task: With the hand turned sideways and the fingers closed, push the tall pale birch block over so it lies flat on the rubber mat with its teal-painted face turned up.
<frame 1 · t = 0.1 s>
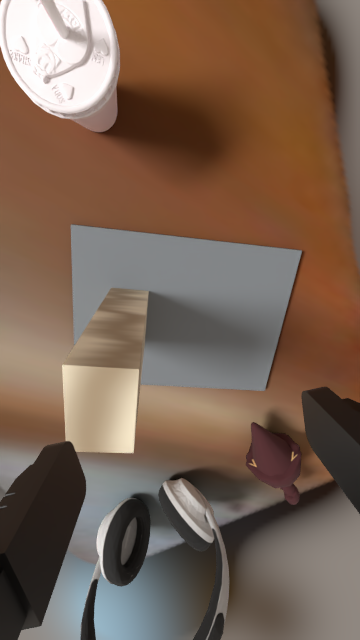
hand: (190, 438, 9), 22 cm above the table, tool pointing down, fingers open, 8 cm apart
headphones: (154, 494, 42), on the table
mat: (181, 317, 32), on the table
smoothie: (96, 108, 24), on the table
birch block: (128, 315, 30), point 1 cm above the table, touching mat
maroon rounded piece: (264, 438, 40), on the table
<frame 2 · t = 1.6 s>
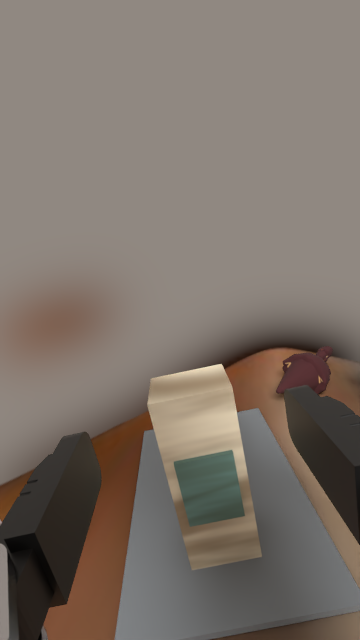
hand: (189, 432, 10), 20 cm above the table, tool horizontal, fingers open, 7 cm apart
mat: (213, 488, 31), on the table
birch block: (222, 539, 25), point 1 cm above the table, touching mat
maroon rounded piece: (307, 393, 44), on the table
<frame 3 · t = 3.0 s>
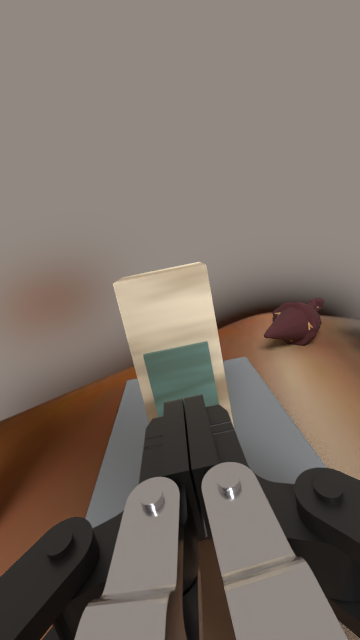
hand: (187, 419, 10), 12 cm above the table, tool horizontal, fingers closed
mat: (195, 421, 29), on the table
birch block: (200, 458, 23), point 1 cm above the table, touching mat
maroon rounded piece: (297, 343, 43), on the table
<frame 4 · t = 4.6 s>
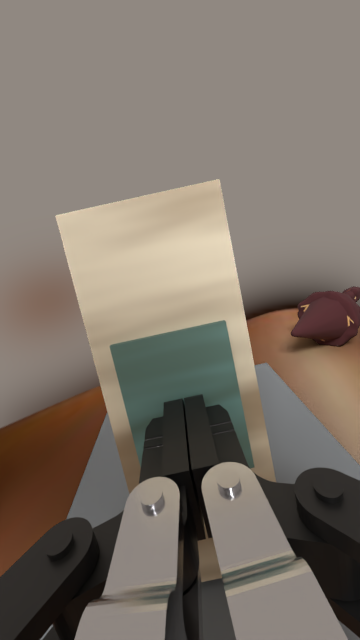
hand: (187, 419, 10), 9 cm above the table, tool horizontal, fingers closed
mat: (204, 461, 20), on the table
birch block: (216, 535, 14), point 1 cm above the table, tilted 7°, touching mat
maroon rounded piece: (330, 344, 34), on the table
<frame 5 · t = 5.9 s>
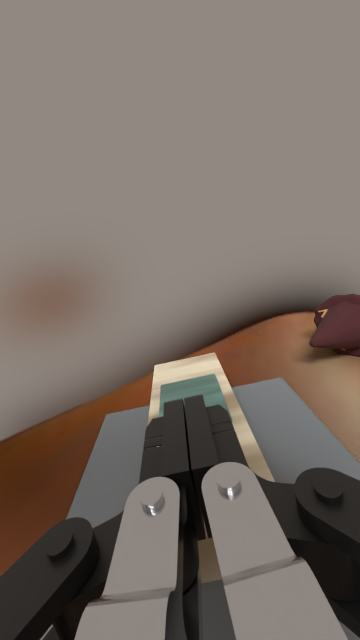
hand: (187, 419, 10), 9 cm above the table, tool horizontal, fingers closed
mat: (213, 509, 16), on the table
birch block: (216, 544, 12), point 3 cm above the table, tilted 90°, touching mat
maroon rounded piece: (351, 353, 30), on the table
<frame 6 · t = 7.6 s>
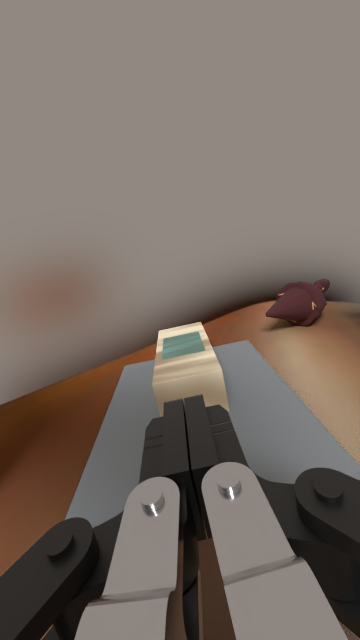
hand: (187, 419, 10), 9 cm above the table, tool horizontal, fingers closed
mat: (194, 401, 28), on the table
birch block: (191, 398, 23), point 3 cm above the table, tilted 90°, touching mat
maroon rounded piece: (301, 325, 42), on the table
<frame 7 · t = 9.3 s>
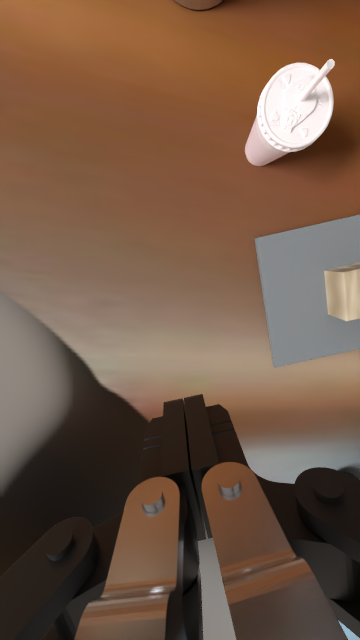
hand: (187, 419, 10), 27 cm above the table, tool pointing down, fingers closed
mat: (351, 286, 37), on the table
smoothie: (259, 149, 33), on the table
birch block: (335, 295, 34), point 3 cm above the table, tilted 90°, touching mat
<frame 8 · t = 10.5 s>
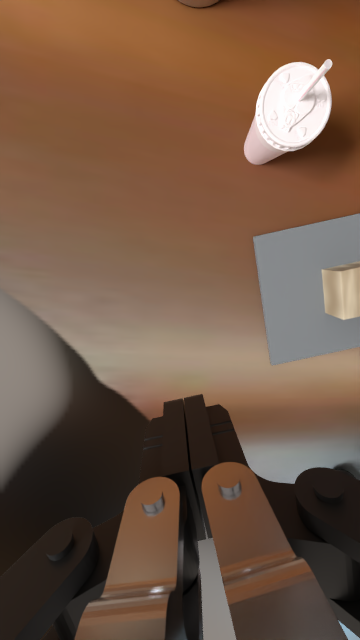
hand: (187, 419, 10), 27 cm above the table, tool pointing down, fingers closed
mat: (348, 285, 37), on the table
smoothie: (258, 148, 33), on the table
birch block: (332, 293, 35), point 3 cm above the table, tilted 90°, touching mat
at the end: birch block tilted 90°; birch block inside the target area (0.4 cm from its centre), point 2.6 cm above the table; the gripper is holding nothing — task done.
